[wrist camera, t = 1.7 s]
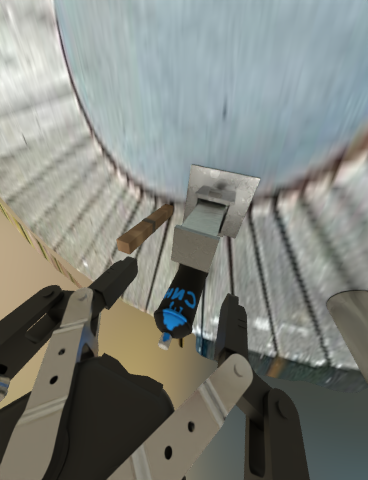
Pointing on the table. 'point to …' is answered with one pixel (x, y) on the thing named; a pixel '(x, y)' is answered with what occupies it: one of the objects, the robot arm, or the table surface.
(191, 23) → the table surface
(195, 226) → the grey-green long block
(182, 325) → the aerosol can
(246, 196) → the stand base
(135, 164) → the table surface
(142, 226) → the banded wooden rod
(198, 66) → the table surface
